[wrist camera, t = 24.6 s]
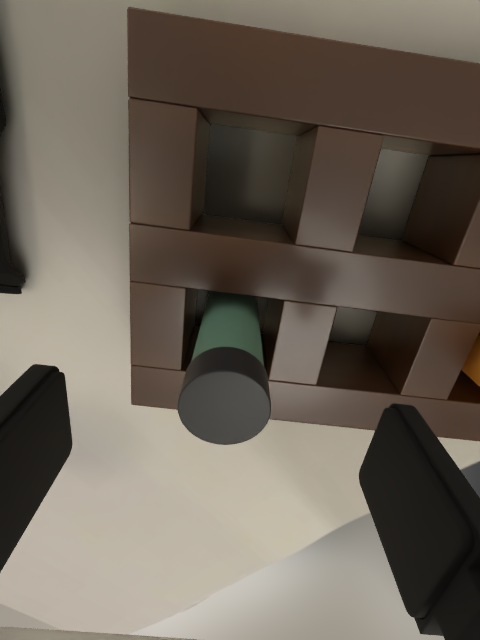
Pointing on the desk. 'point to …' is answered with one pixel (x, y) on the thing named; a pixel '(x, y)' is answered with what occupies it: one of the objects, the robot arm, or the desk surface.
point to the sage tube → (226, 373)
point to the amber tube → (473, 362)
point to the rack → (307, 218)
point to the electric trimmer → (3, 274)
